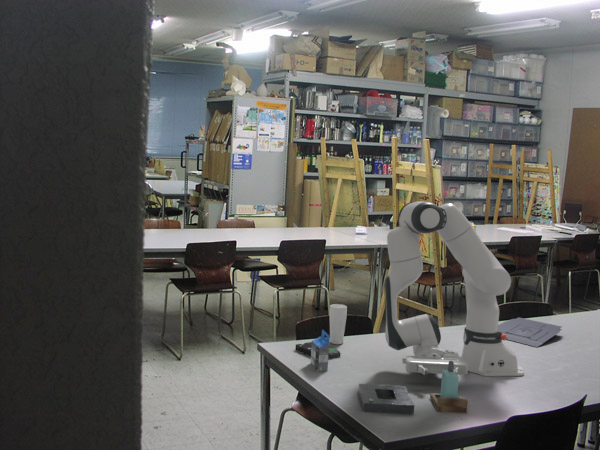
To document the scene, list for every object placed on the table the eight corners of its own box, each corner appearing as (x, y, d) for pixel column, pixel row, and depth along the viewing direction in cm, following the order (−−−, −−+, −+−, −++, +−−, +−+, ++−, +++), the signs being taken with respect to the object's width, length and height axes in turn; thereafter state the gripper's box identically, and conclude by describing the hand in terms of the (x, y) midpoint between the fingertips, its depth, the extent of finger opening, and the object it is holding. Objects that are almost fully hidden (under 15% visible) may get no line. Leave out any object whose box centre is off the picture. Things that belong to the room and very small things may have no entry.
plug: (451, 402, 191) (454, 358, 190) (456, 409, 185) (459, 364, 184) (439, 401, 191) (443, 357, 190) (444, 409, 185) (447, 363, 184)
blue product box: (309, 363, 222) (311, 329, 221) (320, 363, 223) (322, 329, 222) (317, 371, 213) (319, 336, 212) (328, 371, 214) (330, 336, 213)
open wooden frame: (457, 399, 194) (458, 386, 193) (466, 413, 183) (467, 400, 182) (430, 397, 194) (431, 385, 193) (437, 411, 183) (438, 398, 182)
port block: (404, 393, 196) (405, 384, 196) (413, 413, 180) (414, 404, 180) (358, 391, 196) (359, 382, 196) (363, 411, 180) (364, 401, 180)
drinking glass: (347, 342, 250) (350, 305, 249) (339, 346, 244) (342, 308, 243) (333, 339, 254) (335, 303, 252) (324, 343, 248) (326, 305, 247)
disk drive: (294, 351, 237) (319, 362, 225) (294, 344, 236) (319, 354, 225) (315, 347, 243) (341, 357, 231) (316, 340, 243) (341, 350, 231)
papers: (566, 333, 278) (566, 325, 278) (537, 353, 257) (537, 345, 257) (514, 322, 295) (514, 314, 294) (483, 340, 274) (483, 332, 274)
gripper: (401, 349, 212) (408, 362, 199) (462, 352, 213) (473, 365, 199) (400, 367, 213) (407, 381, 199) (460, 370, 213) (471, 384, 199)
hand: (440, 373), depth 199 cm, fingers open, 8 cm apart
